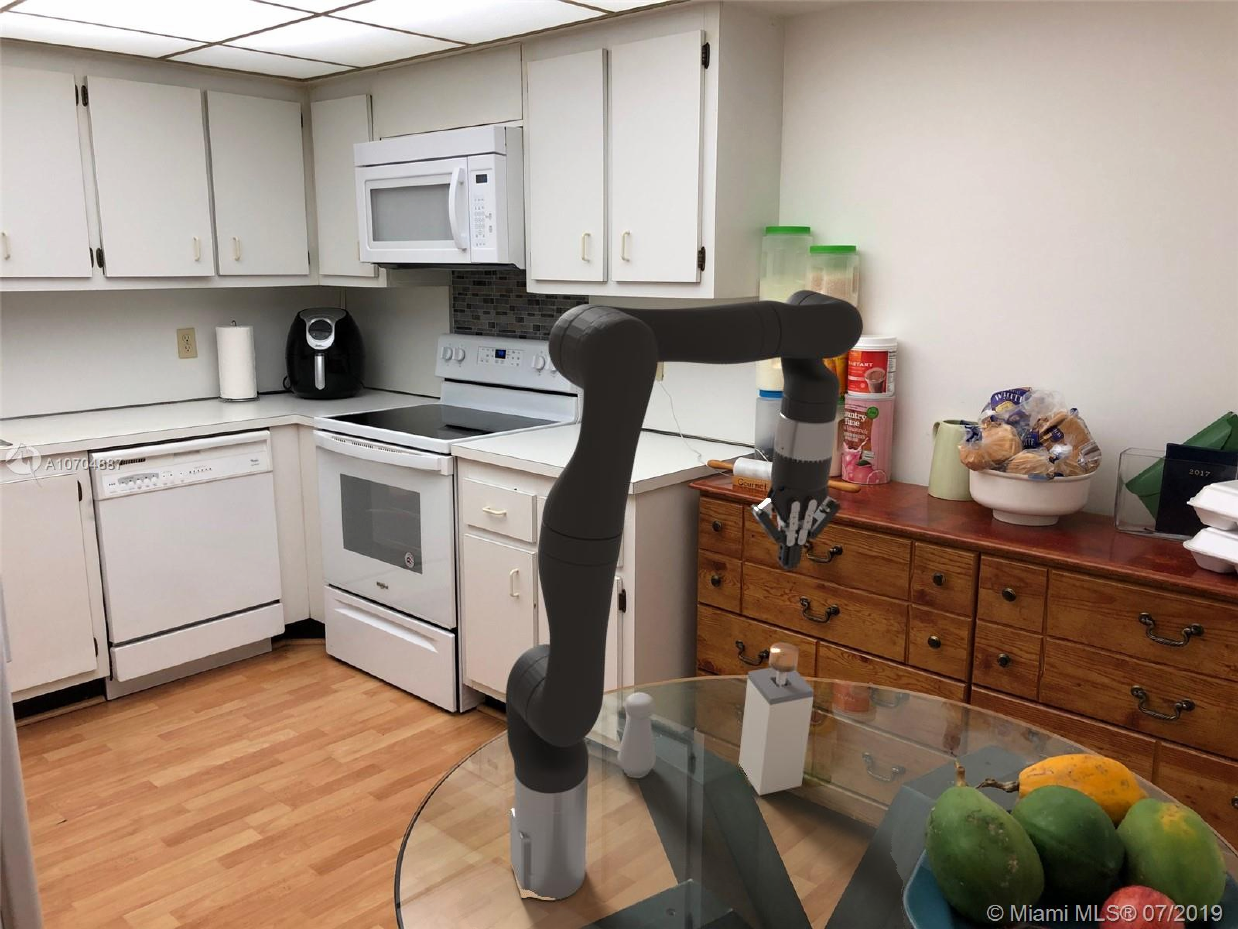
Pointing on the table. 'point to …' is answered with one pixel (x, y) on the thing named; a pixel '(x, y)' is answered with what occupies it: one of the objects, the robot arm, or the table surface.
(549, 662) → the robot arm
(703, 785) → the table surface
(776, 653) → the plunger
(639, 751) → the salt shaker
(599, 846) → the table surface
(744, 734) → the press canister
